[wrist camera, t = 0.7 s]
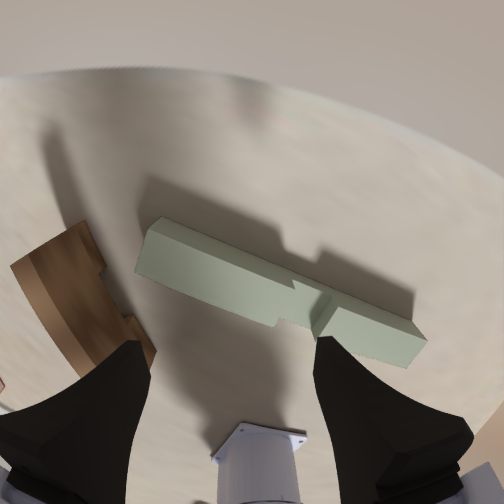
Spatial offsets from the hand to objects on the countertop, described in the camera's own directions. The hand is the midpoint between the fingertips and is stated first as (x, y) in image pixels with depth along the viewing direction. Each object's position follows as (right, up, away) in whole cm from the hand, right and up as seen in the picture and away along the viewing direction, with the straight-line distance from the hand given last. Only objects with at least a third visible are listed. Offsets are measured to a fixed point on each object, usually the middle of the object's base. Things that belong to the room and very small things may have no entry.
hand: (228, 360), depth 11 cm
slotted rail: (+4, +1, +10) cm, 11 cm away
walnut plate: (-10, +1, +10) cm, 14 cm away
